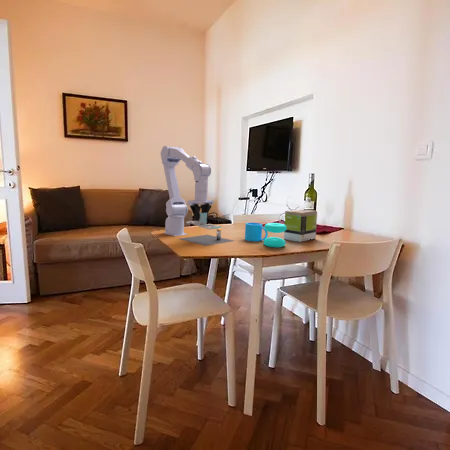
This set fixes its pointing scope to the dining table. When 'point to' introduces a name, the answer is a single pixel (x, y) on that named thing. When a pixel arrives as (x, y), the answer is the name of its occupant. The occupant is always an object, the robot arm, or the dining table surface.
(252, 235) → the mug
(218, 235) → the pin
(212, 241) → the mat
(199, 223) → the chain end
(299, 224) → the tea box
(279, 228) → the donuts
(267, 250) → the dining table surface
